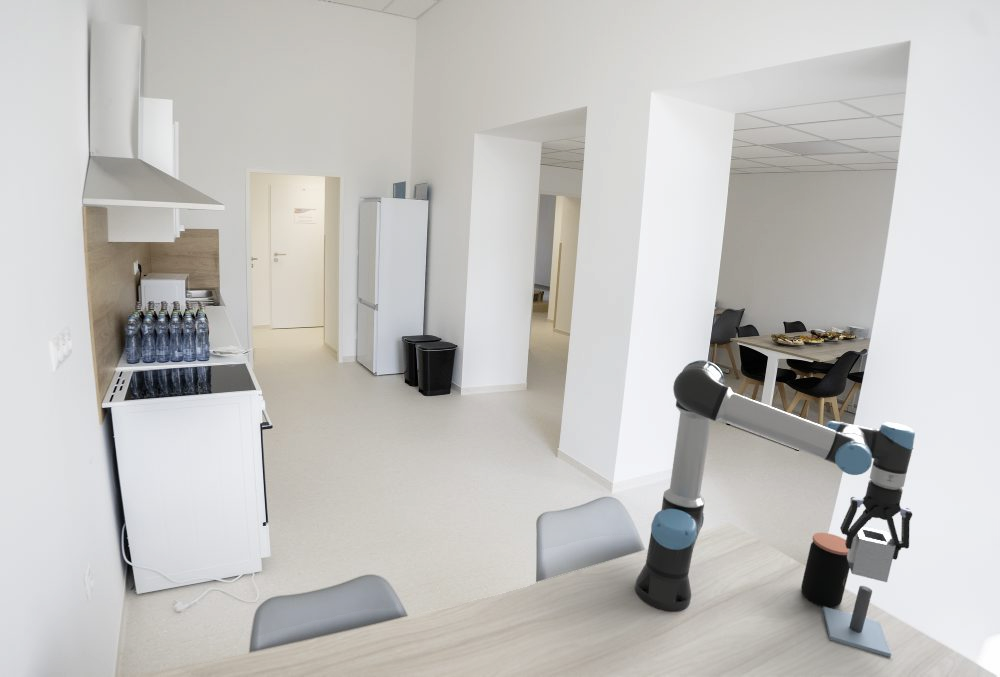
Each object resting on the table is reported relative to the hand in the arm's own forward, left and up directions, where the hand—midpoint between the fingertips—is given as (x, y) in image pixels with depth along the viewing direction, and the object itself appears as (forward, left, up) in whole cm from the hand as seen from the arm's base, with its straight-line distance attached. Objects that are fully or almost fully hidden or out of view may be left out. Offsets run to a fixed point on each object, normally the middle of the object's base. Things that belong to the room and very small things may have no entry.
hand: (867, 564), depth 163 cm
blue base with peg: (+1, 0, -20) cm, 20 cm away
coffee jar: (-6, +13, -20) cm, 25 cm away
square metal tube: (0, 0, -2) cm, 2 cm away
